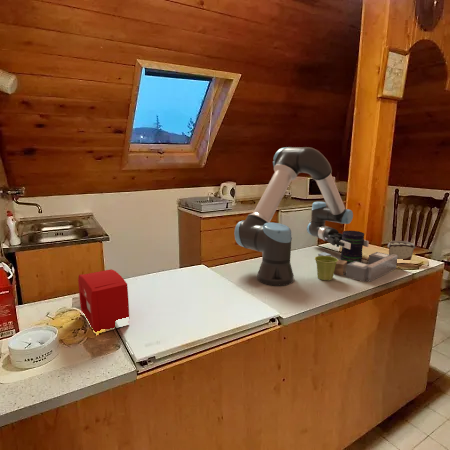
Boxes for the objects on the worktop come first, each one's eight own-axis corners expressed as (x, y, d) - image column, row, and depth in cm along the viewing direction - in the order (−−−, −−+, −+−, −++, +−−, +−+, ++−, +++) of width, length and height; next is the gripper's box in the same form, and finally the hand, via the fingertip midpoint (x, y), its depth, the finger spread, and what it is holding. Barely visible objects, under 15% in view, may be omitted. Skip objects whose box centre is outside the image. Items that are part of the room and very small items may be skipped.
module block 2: (367, 266, 162) (369, 254, 160) (375, 262, 167) (377, 251, 165) (384, 270, 156) (386, 258, 154) (392, 266, 161) (393, 255, 160)
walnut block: (331, 273, 153) (331, 262, 152) (335, 269, 158) (335, 259, 156) (342, 275, 150) (343, 264, 149) (346, 271, 155) (347, 261, 154)
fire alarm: (81, 315, 114) (76, 272, 110) (113, 307, 120) (110, 266, 116) (94, 337, 101) (90, 289, 97) (130, 326, 107) (127, 281, 103)
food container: (407, 260, 171) (410, 240, 168) (413, 264, 165) (415, 244, 162) (382, 259, 172) (384, 240, 170) (386, 263, 166) (388, 243, 164)
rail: (365, 280, 144) (367, 265, 143) (391, 267, 160) (393, 254, 159) (370, 281, 143) (371, 267, 141) (396, 268, 159) (397, 255, 157)
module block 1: (345, 276, 149) (346, 263, 147) (353, 272, 153) (354, 260, 152) (363, 281, 143) (364, 268, 142) (371, 277, 147) (372, 264, 146)
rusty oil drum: (343, 258, 173) (346, 229, 170) (364, 262, 168) (366, 232, 164) (337, 263, 165) (339, 233, 162) (358, 267, 160) (361, 236, 156)
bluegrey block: (317, 265, 162) (318, 253, 161) (323, 264, 164) (324, 252, 163) (323, 268, 159) (324, 255, 158) (330, 266, 161) (330, 254, 160)
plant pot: (309, 277, 148) (310, 258, 146) (322, 272, 153) (324, 254, 151) (327, 284, 140) (328, 263, 138) (340, 279, 146) (342, 259, 144)
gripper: (345, 239, 185) (376, 250, 165) (310, 243, 177) (338, 255, 157) (346, 225, 184) (378, 235, 163) (311, 229, 176) (340, 239, 155)
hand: (359, 245), depth 160 cm, fingers closed on rusty oil drum, 10 cm apart
